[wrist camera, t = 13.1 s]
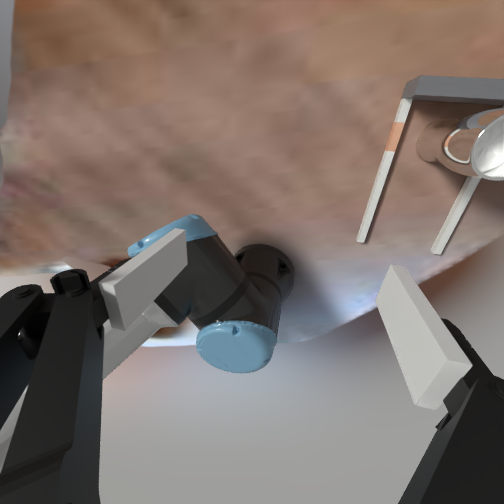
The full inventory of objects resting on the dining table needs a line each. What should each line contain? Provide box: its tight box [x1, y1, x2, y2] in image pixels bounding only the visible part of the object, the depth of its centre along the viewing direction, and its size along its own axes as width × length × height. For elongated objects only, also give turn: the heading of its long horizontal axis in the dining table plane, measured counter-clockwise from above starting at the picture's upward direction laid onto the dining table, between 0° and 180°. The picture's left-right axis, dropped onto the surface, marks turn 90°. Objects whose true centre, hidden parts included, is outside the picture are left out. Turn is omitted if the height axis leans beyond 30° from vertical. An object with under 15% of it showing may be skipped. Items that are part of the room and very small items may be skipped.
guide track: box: [356, 75, 504, 255], centre depth 36 cm, size 25×14×5 cm, turn 175°
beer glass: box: [416, 108, 504, 181], centre depth 29 cm, size 7×7×15 cm
